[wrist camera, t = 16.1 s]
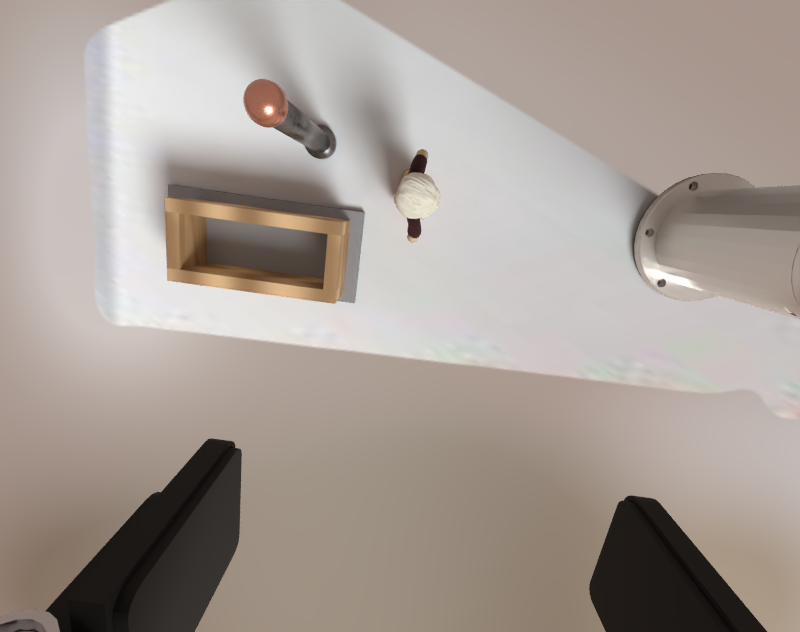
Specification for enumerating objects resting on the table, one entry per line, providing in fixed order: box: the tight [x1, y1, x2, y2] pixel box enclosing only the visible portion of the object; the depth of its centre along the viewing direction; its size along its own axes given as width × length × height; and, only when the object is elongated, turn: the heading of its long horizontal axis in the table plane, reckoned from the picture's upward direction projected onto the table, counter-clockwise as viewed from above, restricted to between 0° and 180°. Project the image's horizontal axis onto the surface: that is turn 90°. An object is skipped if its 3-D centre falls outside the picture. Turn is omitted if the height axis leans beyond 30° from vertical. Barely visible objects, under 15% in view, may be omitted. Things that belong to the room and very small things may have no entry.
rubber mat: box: [168, 185, 365, 303], centre depth 41 cm, size 20×10×1 cm, turn 82°
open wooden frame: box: [165, 198, 350, 304], centre depth 38 cm, size 16×8×5 cm, turn 82°
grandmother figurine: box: [394, 149, 440, 243], centre depth 33 cm, size 8×4×13 cm, turn 6°
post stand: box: [243, 79, 336, 159], centre depth 30 cm, size 3×3×16 cm
